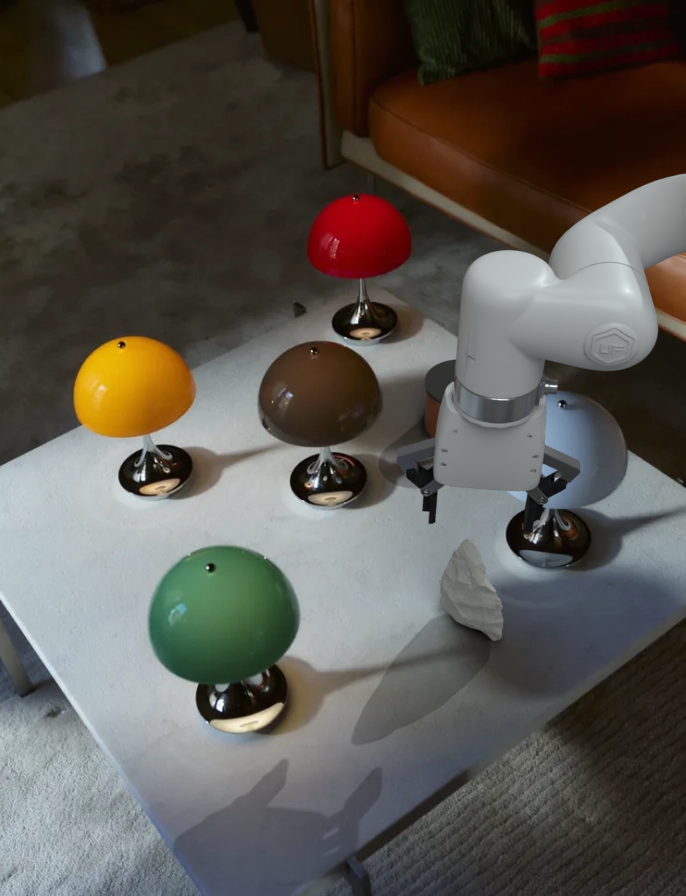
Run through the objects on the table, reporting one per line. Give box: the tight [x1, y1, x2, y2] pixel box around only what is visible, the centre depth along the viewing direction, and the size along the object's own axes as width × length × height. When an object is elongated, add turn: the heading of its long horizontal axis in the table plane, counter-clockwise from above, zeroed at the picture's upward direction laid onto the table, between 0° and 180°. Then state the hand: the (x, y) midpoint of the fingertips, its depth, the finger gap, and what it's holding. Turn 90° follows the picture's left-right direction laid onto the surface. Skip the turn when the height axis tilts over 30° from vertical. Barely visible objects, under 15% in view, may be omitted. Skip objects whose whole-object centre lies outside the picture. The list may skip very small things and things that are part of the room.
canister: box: [424, 359, 456, 438], centre depth 130 cm, size 10×10×8 cm
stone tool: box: [438, 538, 504, 642], centre depth 104 cm, size 8×3×15 cm, turn 51°
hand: (480, 517), depth 96 cm, fingers open, 9 cm apart
